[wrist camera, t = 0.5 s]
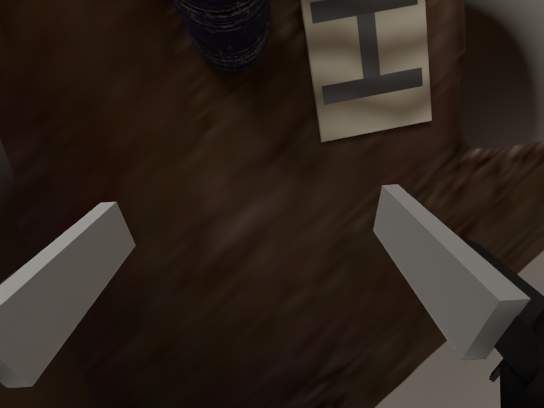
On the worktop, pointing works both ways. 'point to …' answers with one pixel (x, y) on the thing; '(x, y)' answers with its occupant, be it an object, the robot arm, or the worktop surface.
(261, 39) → the dark blue can
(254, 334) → the worktop surface
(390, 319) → the worktop surface
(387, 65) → the board
